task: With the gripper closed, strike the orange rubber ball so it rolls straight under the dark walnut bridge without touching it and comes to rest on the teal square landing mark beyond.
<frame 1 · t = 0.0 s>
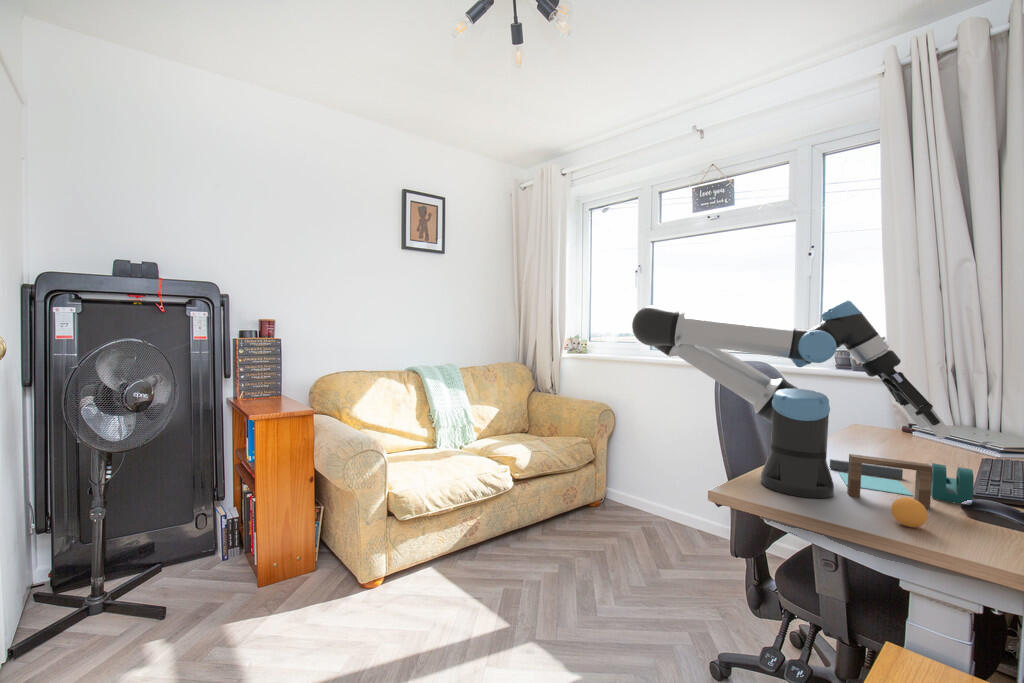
hand: (935, 431, 113), 15 cm above the table, tool tilted 35°, fingers open, 13 cm apart
bracket: (947, 494, 115), on the table
ball: (909, 512, 93), on the table
landing mark: (873, 483, 120), on the table
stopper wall: (864, 473, 130), on the table
bridge: (886, 500, 108), on the table
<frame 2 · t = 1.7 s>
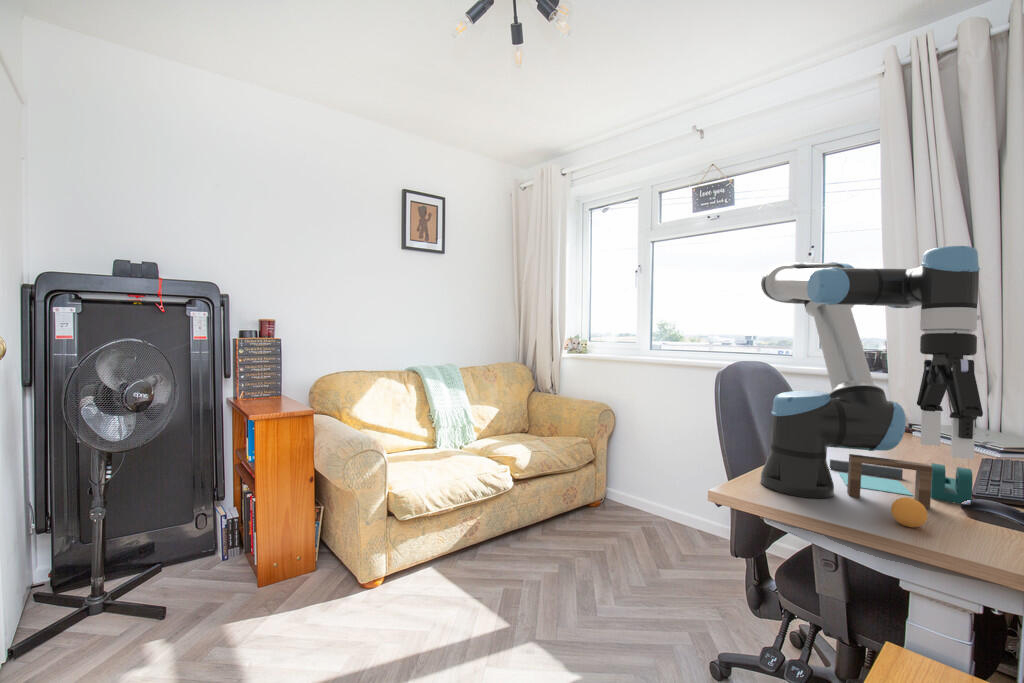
hand: (945, 451, 85), 17 cm above the table, tool pointing down, fingers open, 13 cm apart
nothing on the table moved.
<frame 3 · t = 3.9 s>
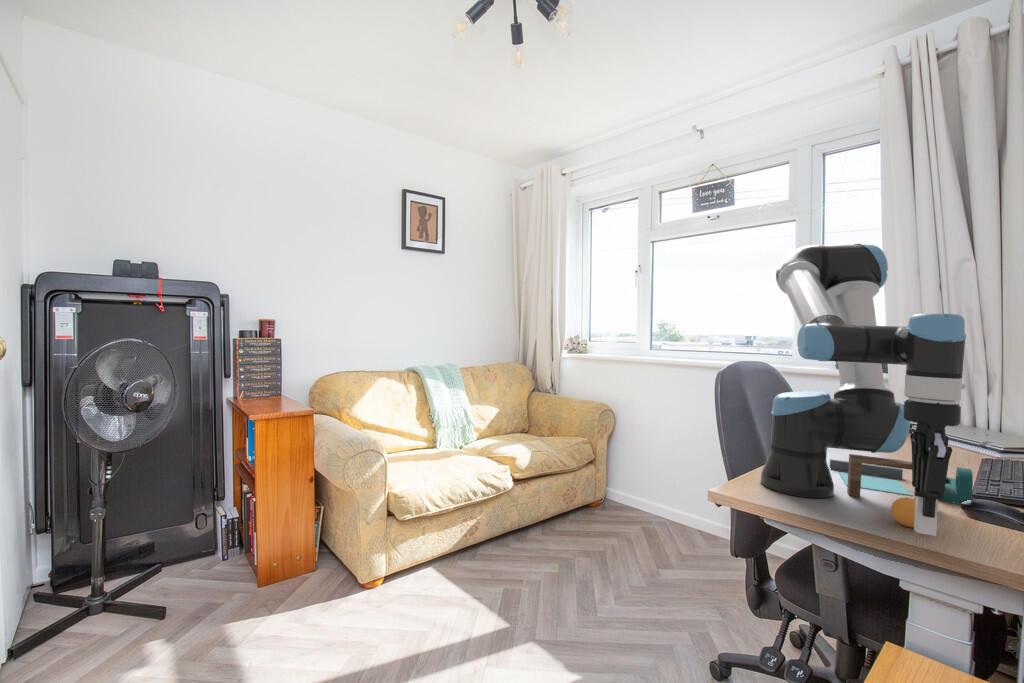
hand: (924, 532, 84), 2 cm above the table, tool pointing down, fingers closed
nothing on the table moved.
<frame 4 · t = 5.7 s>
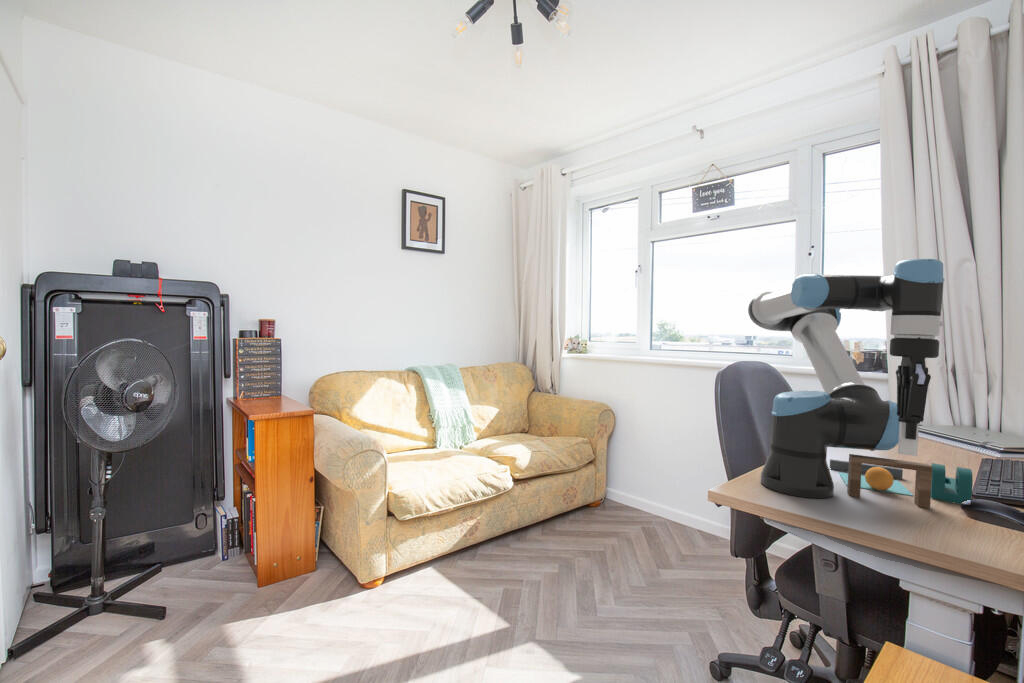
hand: (907, 454, 95), 14 cm above the table, tool pointing down, fingers closed
ball: (879, 478, 115), on the table
everything else where it was.
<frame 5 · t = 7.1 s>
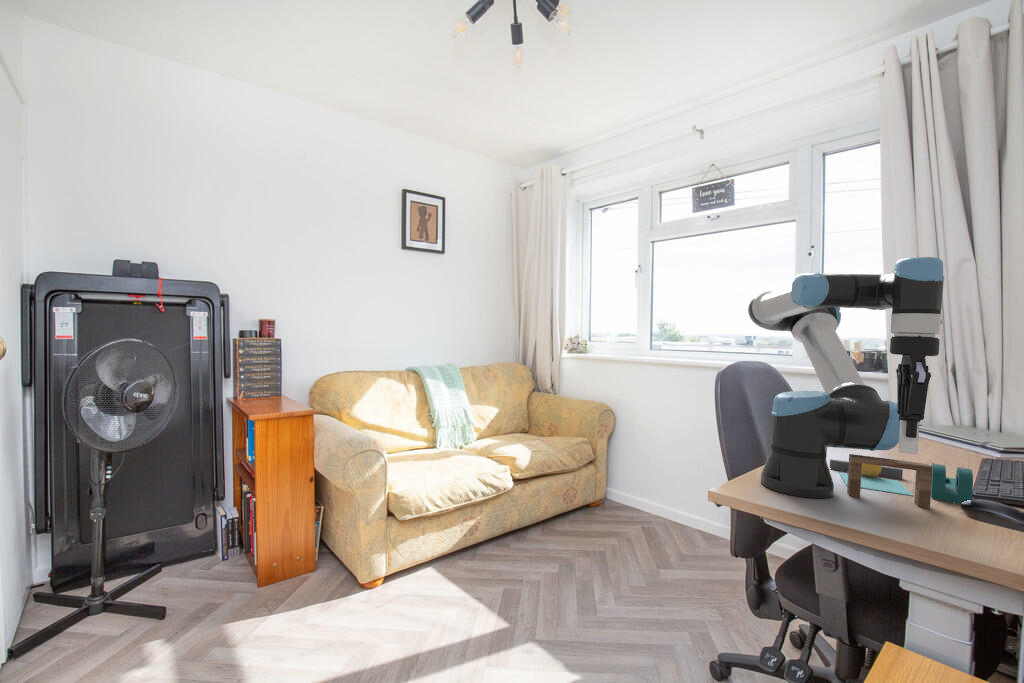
hand: (907, 452, 95), 14 cm above the table, tool pointing down, fingers closed
ball: (868, 466, 126), on the table
everything else where it was.
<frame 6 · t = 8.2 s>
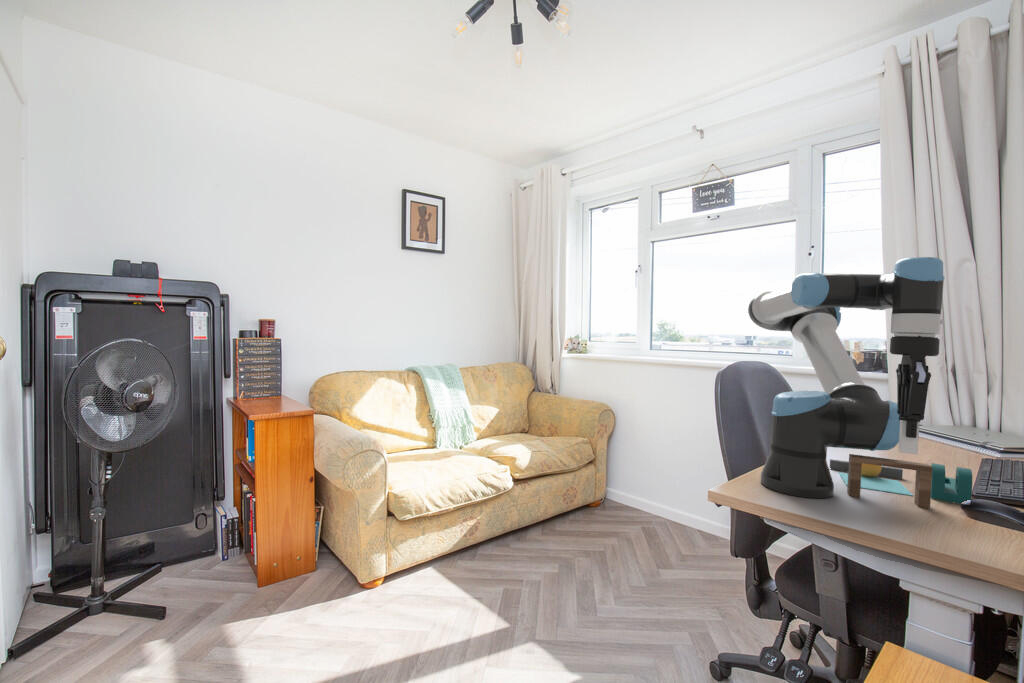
hand: (907, 452, 95), 14 cm above the table, tool pointing down, fingers closed
nothing on the table moved.
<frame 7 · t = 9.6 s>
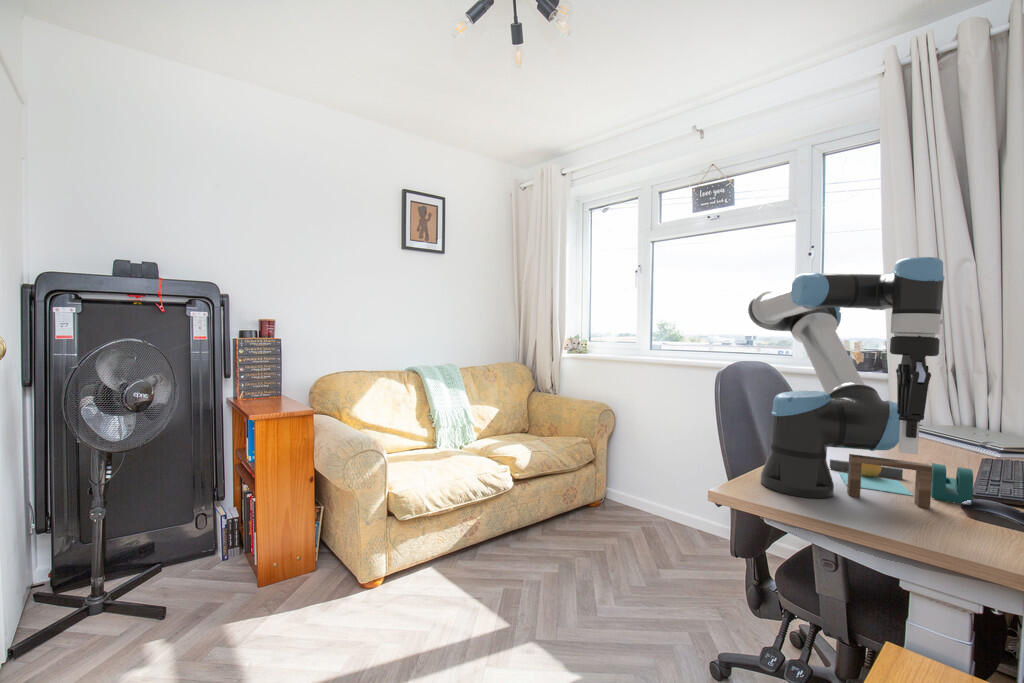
hand: (907, 452, 95), 14 cm above the table, tool pointing down, fingers closed
nothing on the table moved.
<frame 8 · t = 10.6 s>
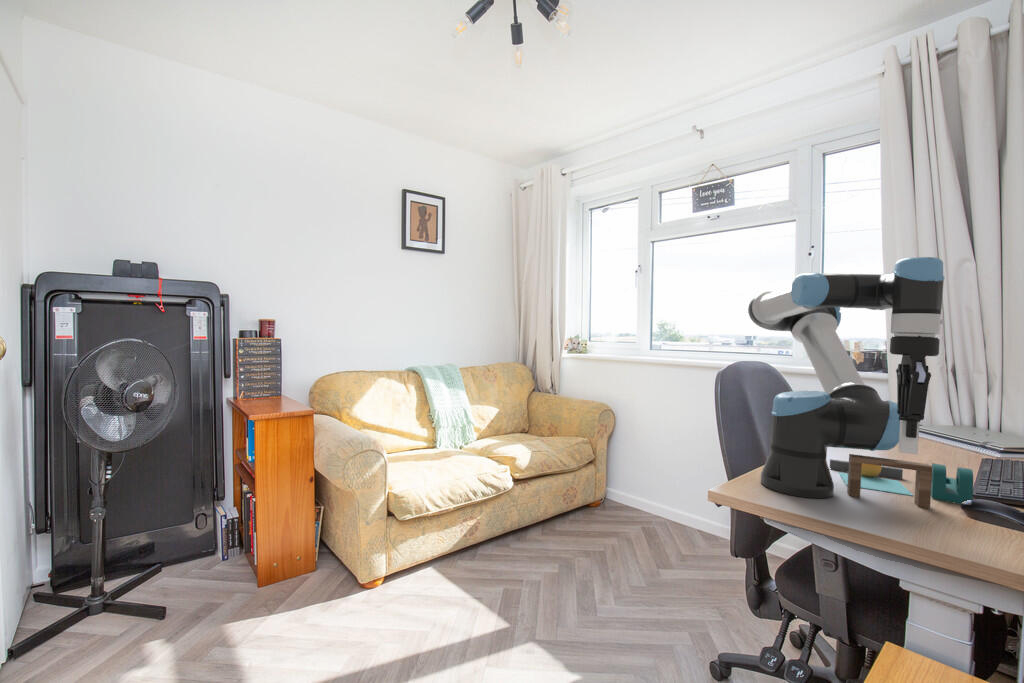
hand: (907, 452, 95), 14 cm above the table, tool pointing down, fingers closed
nothing on the table moved.
at the end: ball 7.0 cm from the landing mark (horizontally); ball never touched bridge; ball at rest at the end (0.0 cm/s) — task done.
